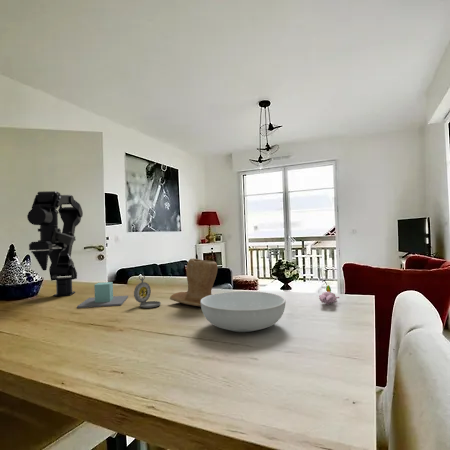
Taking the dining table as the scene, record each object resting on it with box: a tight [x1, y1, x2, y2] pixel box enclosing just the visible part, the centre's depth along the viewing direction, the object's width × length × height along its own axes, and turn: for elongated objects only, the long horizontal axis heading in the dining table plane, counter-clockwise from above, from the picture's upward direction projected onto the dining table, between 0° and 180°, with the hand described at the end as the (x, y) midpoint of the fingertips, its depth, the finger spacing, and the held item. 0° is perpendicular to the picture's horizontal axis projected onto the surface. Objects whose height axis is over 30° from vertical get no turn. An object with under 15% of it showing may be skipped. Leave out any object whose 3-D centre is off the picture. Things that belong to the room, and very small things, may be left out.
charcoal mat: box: [76, 295, 129, 309], centre depth 114 cm, size 14×14×1 cm
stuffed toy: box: [318, 284, 340, 305], centre depth 101 cm, size 6×6×15 cm
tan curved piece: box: [169, 258, 219, 307], centre depth 106 cm, size 15×12×15 cm
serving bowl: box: [200, 290, 287, 333], centre depth 80 cm, size 21×21×7 cm
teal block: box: [93, 281, 114, 302], centre depth 114 cm, size 5×5×6 cm
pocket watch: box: [133, 274, 161, 309], centre depth 106 cm, size 8×8×10 cm
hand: (49, 268), depth 117 cm, fingers open, 9 cm apart
